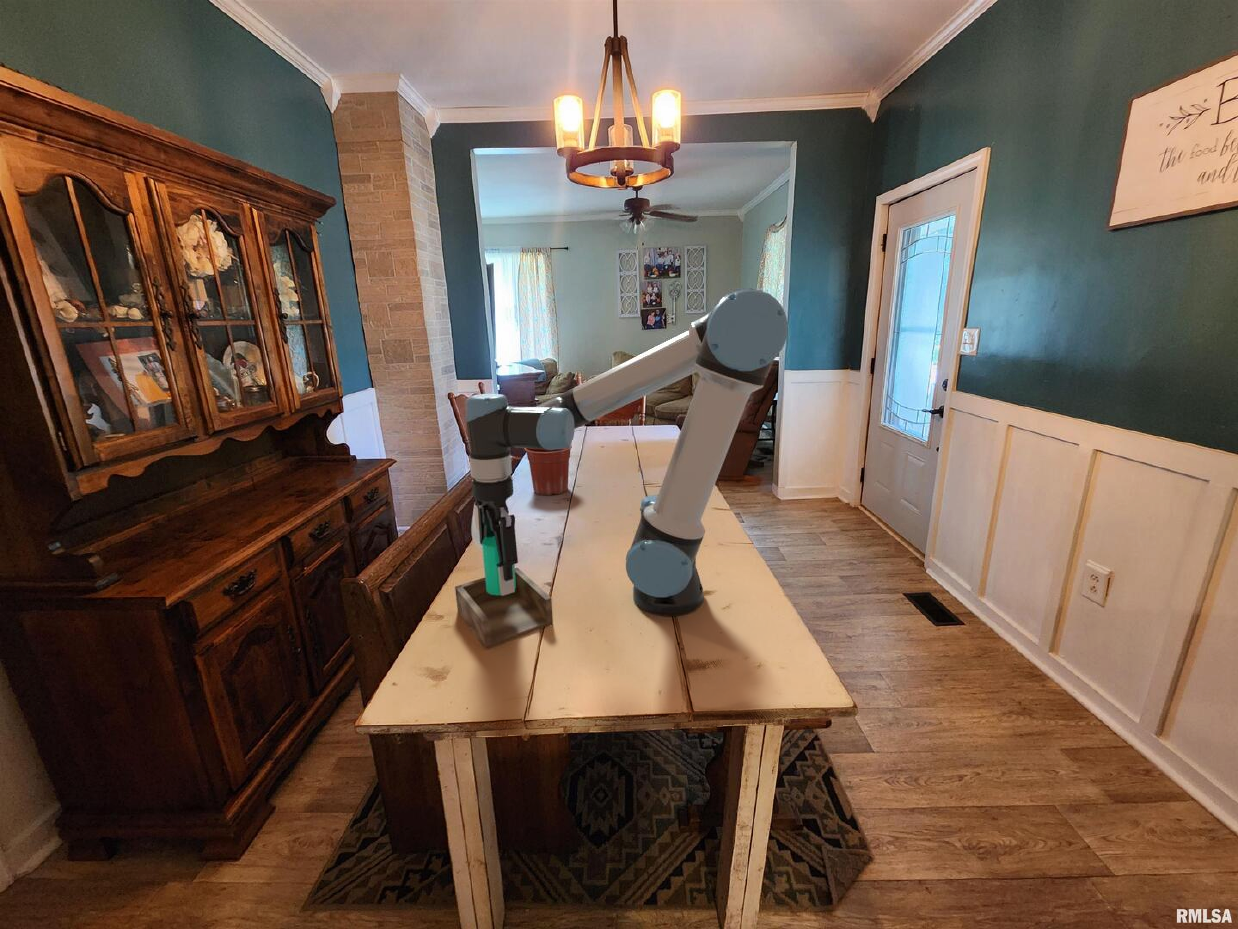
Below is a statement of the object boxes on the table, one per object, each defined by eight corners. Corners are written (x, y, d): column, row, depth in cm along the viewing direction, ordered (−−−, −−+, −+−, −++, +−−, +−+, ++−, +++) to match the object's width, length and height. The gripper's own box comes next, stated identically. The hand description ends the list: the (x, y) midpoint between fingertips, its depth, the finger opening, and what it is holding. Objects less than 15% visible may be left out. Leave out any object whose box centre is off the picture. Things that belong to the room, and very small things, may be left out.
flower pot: (524, 485, 189) (521, 443, 185) (568, 481, 194) (566, 439, 189) (531, 500, 174) (527, 454, 169) (578, 494, 179) (576, 449, 174)
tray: (552, 623, 103) (551, 598, 102) (485, 649, 95) (483, 621, 94) (519, 591, 116) (517, 567, 114) (457, 611, 108) (454, 586, 107)
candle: (518, 580, 107) (514, 526, 103) (513, 595, 101) (509, 538, 98) (489, 580, 107) (484, 527, 103) (482, 595, 101) (477, 539, 98)
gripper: (532, 485, 92) (539, 600, 98) (492, 462, 107) (500, 563, 113) (492, 493, 88) (501, 613, 94) (456, 468, 103) (466, 573, 109)
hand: (500, 586), depth 104 cm, fingers closed on candle, 6 cm apart
